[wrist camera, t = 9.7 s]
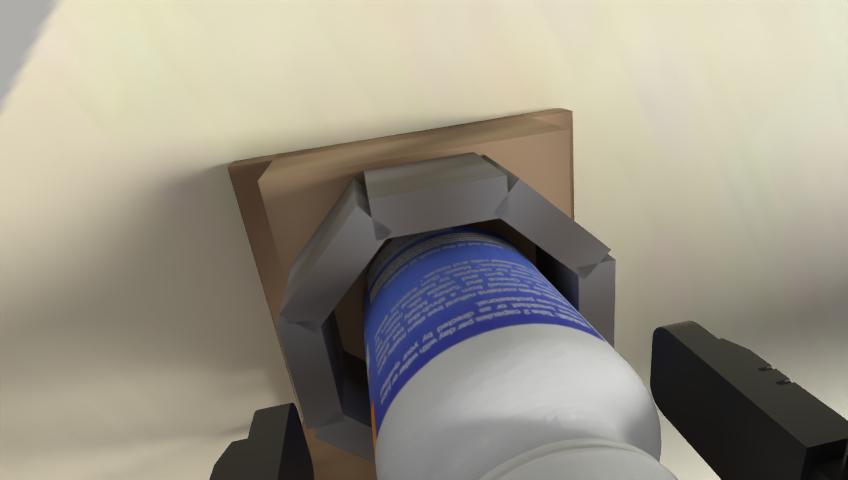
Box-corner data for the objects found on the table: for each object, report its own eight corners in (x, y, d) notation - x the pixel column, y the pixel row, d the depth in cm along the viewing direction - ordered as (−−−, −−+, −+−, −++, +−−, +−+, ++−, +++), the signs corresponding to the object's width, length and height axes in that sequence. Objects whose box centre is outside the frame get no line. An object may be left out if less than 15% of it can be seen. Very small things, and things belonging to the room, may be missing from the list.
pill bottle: (324, 295, 14) (288, 683, 5) (456, 176, 14) (667, 393, 5) (437, 392, 16) (549, 795, 7) (558, 292, 16) (844, 602, 7)
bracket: (560, 108, 18) (925, 188, 6) (567, 369, 22) (790, 682, 11) (234, 161, 16) (3, 368, 5) (310, 425, 21) (271, 836, 10)
